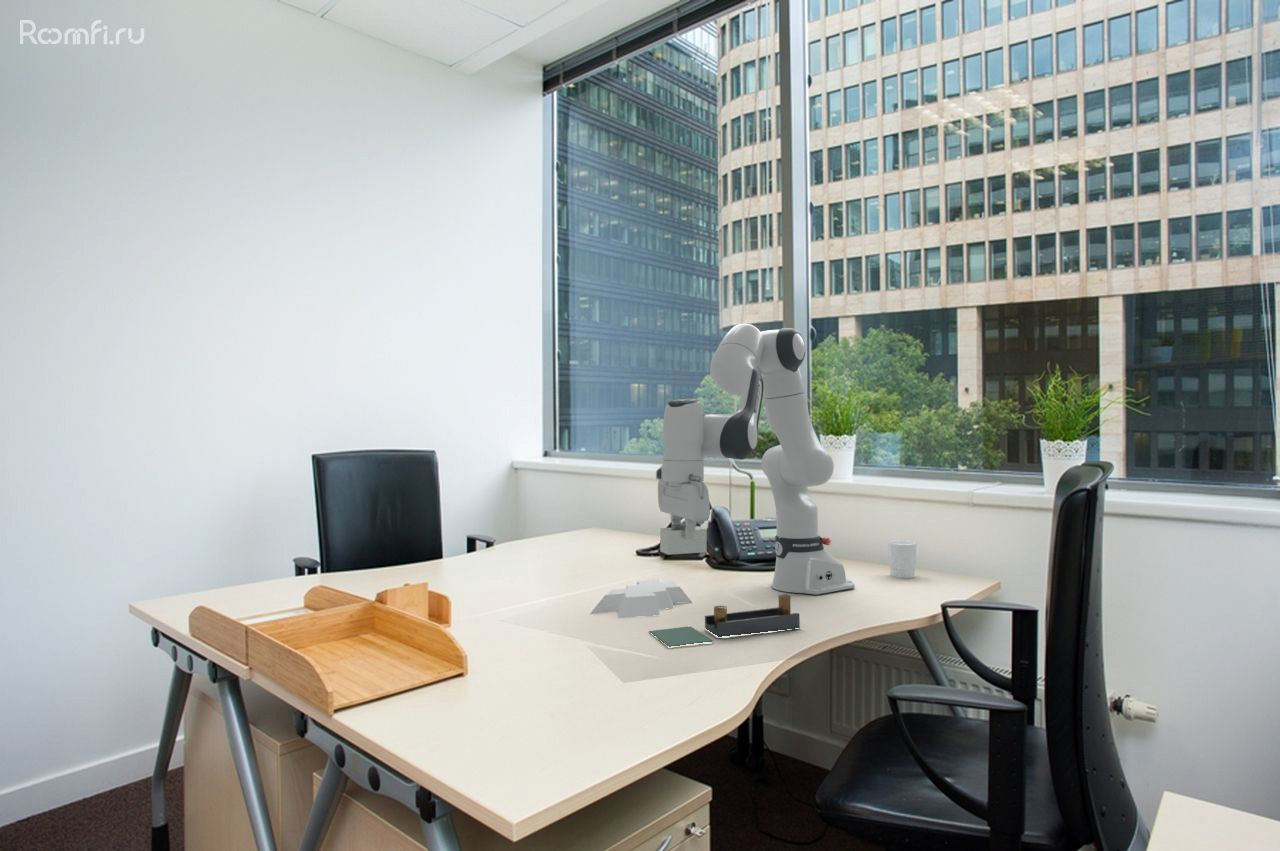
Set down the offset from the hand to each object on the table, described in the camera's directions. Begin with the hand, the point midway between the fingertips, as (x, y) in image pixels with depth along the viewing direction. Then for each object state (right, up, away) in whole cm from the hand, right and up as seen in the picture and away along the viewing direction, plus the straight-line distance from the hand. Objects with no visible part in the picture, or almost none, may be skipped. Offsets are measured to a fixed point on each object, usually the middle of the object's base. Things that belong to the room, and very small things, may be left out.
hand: (683, 537), depth 167 cm
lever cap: (0, -3, 0) cm, 3 cm away
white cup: (+68, -20, +60) cm, 92 cm away
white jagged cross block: (-8, -23, +28) cm, 37 cm away
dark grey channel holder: (+16, -22, +6) cm, 27 cm away
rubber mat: (-1, -22, 0) cm, 22 cm away
